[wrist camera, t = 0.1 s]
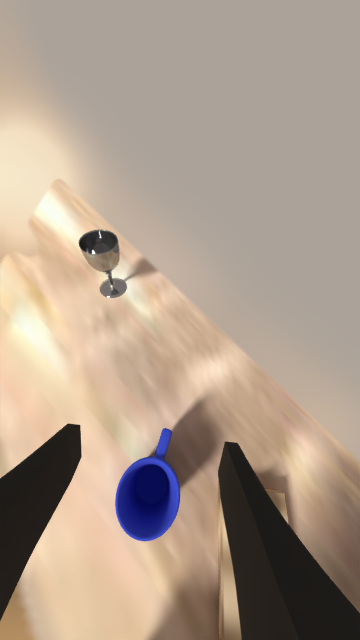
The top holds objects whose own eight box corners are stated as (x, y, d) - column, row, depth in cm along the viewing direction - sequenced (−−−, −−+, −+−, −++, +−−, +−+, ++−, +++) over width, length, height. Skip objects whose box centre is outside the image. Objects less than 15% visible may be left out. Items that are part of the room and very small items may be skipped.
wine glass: (116, 303, 53) (101, 259, 40) (92, 291, 54) (70, 244, 42) (133, 283, 57) (125, 237, 44) (110, 273, 58) (95, 225, 46)
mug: (187, 439, 38) (194, 437, 29) (167, 524, 32) (168, 553, 23) (146, 424, 39) (142, 419, 30) (118, 505, 32) (103, 526, 24)
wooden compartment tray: (295, 660, 26) (310, 683, 23) (218, 652, 26) (225, 675, 23) (275, 489, 35) (284, 493, 32) (218, 483, 35) (222, 486, 32)
